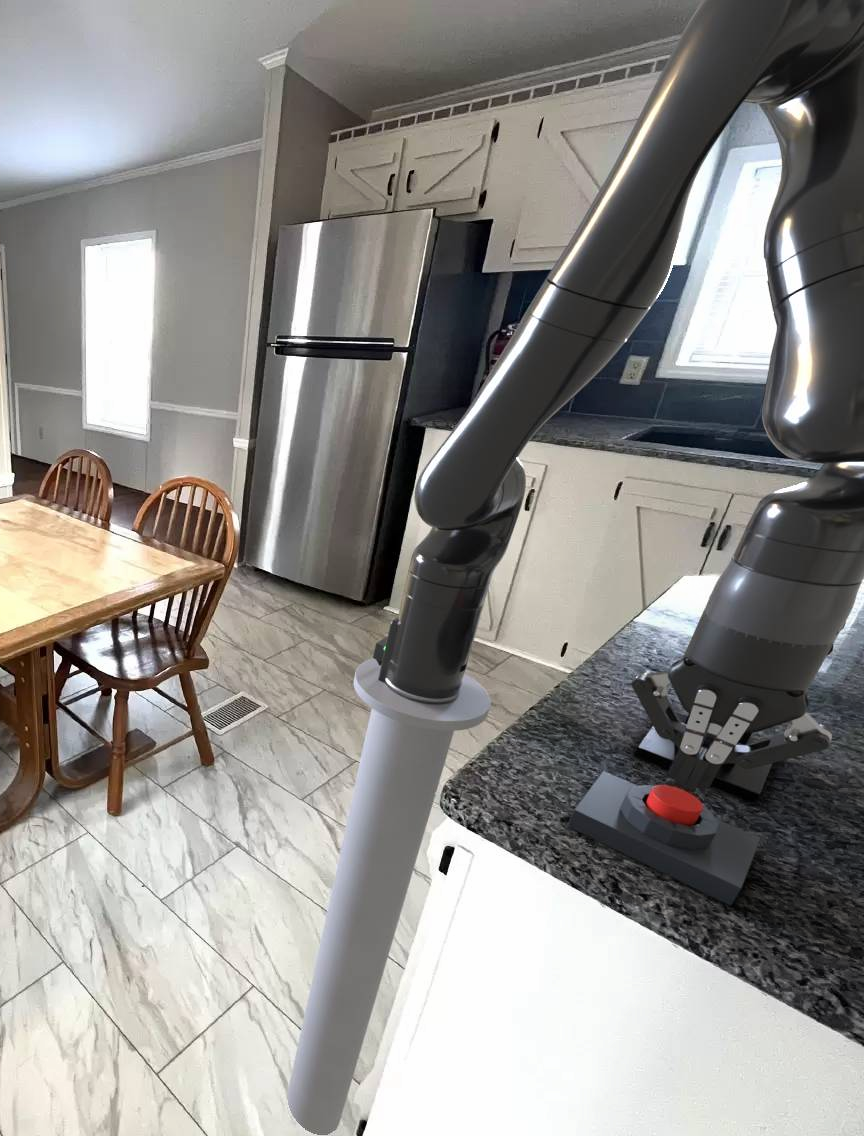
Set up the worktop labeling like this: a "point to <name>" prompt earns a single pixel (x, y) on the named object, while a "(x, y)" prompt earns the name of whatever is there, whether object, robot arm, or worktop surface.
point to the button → (674, 804)
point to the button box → (666, 838)
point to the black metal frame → (665, 751)
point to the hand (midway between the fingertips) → (686, 785)
